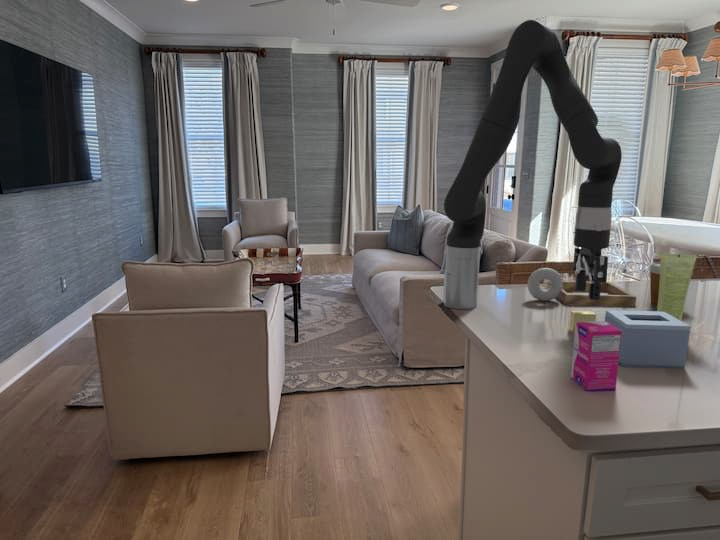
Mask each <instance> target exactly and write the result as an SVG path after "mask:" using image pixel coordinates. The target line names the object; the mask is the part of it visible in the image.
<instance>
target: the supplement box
mask: <svg viewBox="0 0 720 540" xmlns="http://www.w3.org/2000/svg"><path fill="white" fill-rule="evenodd" d="M621 334H622V331H621V330H619V329H618V328H616V327H614V326H612V325H611V324H609V323H607V322H605V320H596V321H590V322H576V324H575V333H574V335H573V336H574V337H573V338H574V339H573V346H572V347H573V349H572V358H571V369H570V370H571V372H570V380H571V381H573V382H574V383H576V384H577V385H578V386H579V387H580V388H582V389H583V390H584V391H585V392H610V391H611V392H612V391H613V392H615V391H616V389H617V382H618V381H617V380H618V379H617V378H618V373H619V372H618V371H619V364H618V363H619V353H620V343H621Z"/></svg>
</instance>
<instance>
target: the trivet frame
mask: <svg viewBox="0 0 720 540" xmlns="http://www.w3.org/2000/svg"><path fill="white" fill-rule="evenodd" d="M546 283H547V284H546V290H547V289H548V288H549V287H550V285H551V282H550V281H549V280H547V282H546ZM575 286H576V280H563V287H562V291H561V292H560V294H559V295H558V296H557V297H556V299H558V298H559V299H560V300H559V299H558V300H559V301H561V302H562V303H563V302H564V303H565V304H564V303H563V304H564V305H566V304H574V305H573V306H613V305H615V306H617V305H618V306H619V307H624V306H625V307H627V306H628V307H630V306H631V307H636V304H637V296H636V295H634V294H633V293H631V292H629V291H627V290H625V289H624V288H621V286H618V285H616V284H614V283H612V282H611V281H606V283H602V284H601V288H600V292H606V293H609V294H600V298H599V300H590V299H589V293H588V294H587V293H586V294H585V293H569V292H578V291H577V290H576V289H575ZM589 286H590V280H589V281H588V280H586V289H585V291H584V292H589ZM565 290H566V291H565ZM568 291H569V292H568Z"/></svg>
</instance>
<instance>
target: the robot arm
mask: <svg viewBox="0 0 720 540" xmlns="http://www.w3.org/2000/svg"><path fill="white" fill-rule="evenodd" d="M531 68H533V69H534V70H535V72H537V74H538V75H539V76H540V78H541V79H542V80H543V82H544V84H545V85H546V88H547V90H548V92H549V96H550V101H551V104H552V107H553V110H554V112H555V114H556V116H557V118H558V120H559V122H560V123H561V125H562V127H563V129H564V130H565V132H566V133H567V136H568V141H569V144H570V146H571V147H570V148H571V150H572V154H573V156H574V158H575V159H576V161H577V162H578V163H579V165H580V166H581V167H583V168H584V169H586V170H588V175H587V178H586V180H584V181H583V182H581V183H580V185H579V190H578V196H577V197H578V199H577V210H576V215H575V223H574V236H573V246H574V252H573V263H572V272H574V274H575V276H576V277H575V281H576V286H575V289H576V290H577V291H576V292H586V291H585V289H586V281H587V276H588V278H589V282H590V286H589V291H588V294H589V299H590V300H599V298H600V295H601V291H600V288H601V284H602V283H606V282H608V281H607V277H608V276H607V275H608V263H609V258H608V256H607V255H602V250H604V249H608V248H609V247H610V242H611V241H610V240H611V231H612V229H611V228H612V220H613V219H612V204H613V194H614V193H613V191H614V190H613V189H614V185H615V184H616V181H617V178H618V174H619V171H620V167H621V164H622V156H623V155H622V148H621V145H620V144H619V142H618V141H617V140H616V139H614V138H611V137H605V136H604V137H603V136H601V134H600V133H599V130H598V128H597V126H598V123H599V118H598V116H597V113H596V112H595V110H594V109H593V107H592V105H591V103H590V101H589V99H588V98H587V97H586V95H585V93H584V92H583V90H582V89H581V87H580V85H579V84H578V82H577V80H576V78H575V77H574V75H573V73H572V71H571V68H570V67H569V64H568V62H567V59H566V57H565V54H564V50H563V48H562V44H561V42H560V40H559V38H558V35H557V34H556V32H555V30H553V29H552V28H551V27H549V26H547V25H546V24H544V23H542V22H540V21H539V20H536V19H527V20H525V21H522V23H520V24H519V25H518V26H517V27H516V28H515V29H514V31H513V33H512V35H511V37H510V39H509V41H508V44H507V47H506V50H505V54H504V57H503V60H502V64H501V67H500V70H499V73H498V76H497V78H496V82H495V84H494V86H493V89H492V91H491V94H490V97H489V99H488V101H487V104H486V107H485V109H484V111H483V113H482V115H481V117H480V120H479V122H478V125H477V127H476V130H475V131H474V135H473V137H472V141H471V143H470V145H469V147H468V150H467V153H466V155H465V156H464V161H463V162H462V164H461V167H460V169H459V172H458V173H457V176H456V177H455V179H454V181H453V183H452V185H451V186H450V188H449V190H448V191H447V193H446V196H445V199H444V202H443V204H444V205H443V208H444V213H445V215H446V217H447V218H448V219H449V220H450V221H452V222H453V223H452V228H451V230H450V232H449V233H448V234H447V237H446V247H445V248H446V250H445V251H446V252H445V270H444V274H443V291H442V292H443V293H442V295H443V297H442V303H443V306H444V307H445V308H450V309H456V310H472V309H476V308H477V306H478V295H479V294H478V291H479V275H480V273H479V272H480V258H481V257H480V256H481V255H480V254H481V242H482V239H483V235H484V233H485V224H486V213H487V203H486V198H485V195H484V193H483V192H482V188H483V185H484V183H485V180H486V179H487V177H488V175H490V172H491V171H492V170H493V168H494V167H495V166H496V165H497V164H498V162H499V161H500V159H501V158H502V157H503V155H504V154H505V153H506V151H507V149H508V148H509V146H510V144H511V142H512V139H513V137H514V135H515V133H516V131H517V129H518V125H519V121H520V116H521V108H522V107H521V105H522V96H523V95H522V93H523V89H524V85H525V83H526V80H527V78H528V76H529V73H530V72H531Z"/></svg>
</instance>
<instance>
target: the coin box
mask: <svg viewBox="0 0 720 540" xmlns="http://www.w3.org/2000/svg"><path fill="white" fill-rule="evenodd" d="M604 314H605V315H604V321H605V322H607V323H609V324H611V325H612V326H614V327H616V328H618V329H619V330H621V331H622V334H621V343H620V353H619V363H618V366H620V367H621V368H623V367H624V368H625V367H626V368H654V369H655V368H660V369H661V368H663V369H685V368H686V363H687V361H686V360H687V355H688V348H689V341H690V333H691V327H692V326H691V325H689V324H687V323H686V322H684V321H680V320H678V319H677V318H675V317H673V316H671V315H669V314H667V313H666V312H659V311H657V310H656V311H653V310H652V311H651V310H618V309H616V310H612V309H605V313H604Z"/></svg>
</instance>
